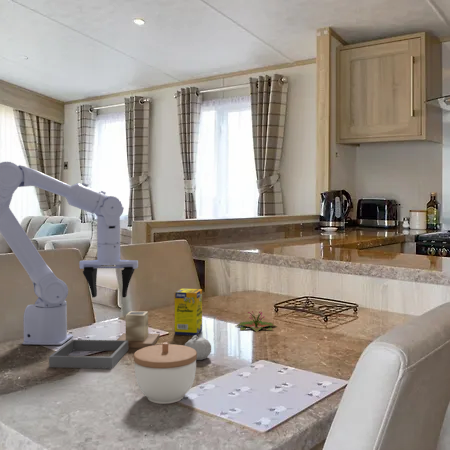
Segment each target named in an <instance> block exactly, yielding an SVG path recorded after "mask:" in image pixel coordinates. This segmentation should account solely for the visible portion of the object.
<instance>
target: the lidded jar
mask: <svg viewBox="0 0 450 450" xmlns="http://www.w3.org/2000/svg"><path fill="white" fill-rule="evenodd" d="M196 359H197V352H196V351H195V349H193V348H191V347H187V346H184V344H183V345H182V344H172V343H171V344H170V343H169V342H166V341H165V342H162V344H155V345H154V346H148V347H145V348H138V350H136V351H135V352H134V354H133V361H134V362H133V363H134V375H135V376H134V377H135V381H136V383H137V387H138V388H139V390H140V392H141V393H142V394H143V395H144V396H145V397H146V398H147V400H148V401H149V402H151V403H153V404H158V405H168V404H169V405H170V404H175V403H178V402H180V401H182V400H183V399H184V397H185V395H186V394H187V393H188V392H189V391H190V389H191V387H193V384H194V382H195V379H196V372H197V371H196V370H197V360H196ZM181 399H182V400H181Z"/></svg>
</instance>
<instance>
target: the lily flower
mask: <svg viewBox="0 0 450 450" xmlns="http://www.w3.org/2000/svg"><path fill="white" fill-rule="evenodd" d="M251 312H252V313H251ZM251 312H249V311H248V312H247V313H248V314H250V316H249V317H248V318H249V319H251V320H250V321H240V323H238V324H236V327H239V328H240V329H239V331H242V330H243V331H244V330H247V329H249V328H250V329H251V330H254V331H255V332H256V333H257V332H259V330H262V328H266V330H268V331H272V332H273V331H274V329H273V328H272V327H278V325H275V324H273V322H270V321H262V319H264V318H265V316H263V312H262V311H259V312H258V314H257V316H256V315H255V313H254V311H251ZM260 317H262V319H261V318H260ZM240 326H241V327H240ZM246 328H247V329H246Z"/></svg>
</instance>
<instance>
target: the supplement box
mask: <svg viewBox="0 0 450 450" xmlns="http://www.w3.org/2000/svg"><path fill="white" fill-rule="evenodd" d="M173 294H174V297H173V298H174V335H177V336H192V337H193V336H195V335H197V336H198V334H200V333H201V332H202V331H203V289H202V288H201V289H200V288H180V289H178V290H177V291H174V293H173Z"/></svg>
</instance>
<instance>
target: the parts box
mask: <svg viewBox="0 0 450 450" xmlns="http://www.w3.org/2000/svg"><path fill="white" fill-rule="evenodd" d="M125 333H126V340H128V341H145V339H146V338H147V337H148V334H149V311H147V310H146V311H143V310H141V311H140V310H139V311H137V310H134V311H133V310H131V311H129V312H128V313H126V314H125Z"/></svg>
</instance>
